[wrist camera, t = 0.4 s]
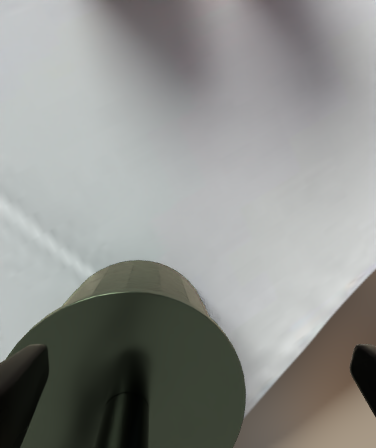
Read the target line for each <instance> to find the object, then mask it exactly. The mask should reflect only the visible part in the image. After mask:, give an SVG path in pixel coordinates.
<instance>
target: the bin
mask: <svg viewBox="0 0 376 448" xmlns="http://www.w3.org/2000/svg"><path fill="white" fill-rule="evenodd" d="M116 289H145V290H152V291H157V292H162V293H166V294H169V295H172V296H175V297H178V298H180V299H182V300H184V301H186V302H189V303H191V304H193V305H194V306H196V307H197V308H199V309H200V310H202V311H203V312H205V313H206V314H207V315H208V312H207V310H206V308H205V306H204V304H203V302H202V300H201V299H200V297H199V295H198V293H197V291H196V289H195V288H194V287H193V286H192V285H191V283H190V282H189V281H188V280H187V279H186V278H185V277H184V276H183V275H181V274H180V273H178V272H177V271H175V270H174V269H172V268H170V267H168V266H165V265H162V264H159V263H156V262H151V261H142V260H135V261H125V262H120V263H117V264H113V265H110V266H108V267H106V268H104V269H101V270H100V271H98V272H96V273H95V274H93V275H92V276H90V277H89V278H88V279H87V280H86V281H85V282H84V283H83V284H82V285H81V286H80V287H79V288H78V289H77V290H76V291H75V292H74V293H73V294H72V295H71V296H70V297H69V299H68V300H67V301H66V302H65V303H64V304H63V305H65V304H68V303H70V302H72V301H74V300H76V299H79V298H82V297H85V296H88V295H91V294H94V293H98V292H103V291H109V290H116ZM208 316H209V315H208Z"/></svg>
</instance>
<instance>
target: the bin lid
mask: <svg viewBox="0 0 376 448" xmlns="http://www.w3.org/2000/svg"><path fill="white" fill-rule="evenodd" d="M32 344H44V345H46V346H47V348H48V358H49V376H48V379H47V382H46V385H45V387H44V390H43V392H42V395H41V397H40V400H39V402H38V405H37V407H36V410H35V412H34V415H33V417H32V420H31V422H30V425H29V427H28V430H27V432H26V435H25V437H24V440H23V442H22V445H21V447H20V448H233V446H234V444H235V442H236V439H237V437H238V435H239V432H240V428H241V425H242V421H243V418H244V411H245V399H246V389H245V381H244V375H243V371H242V367H241V364H240V361H239V358H238V356H237V354H236V352H235V349H234V347H233V346H232V344H231V342H230V341H229V339H228V337H227V336H226V334H225V333H224V332H223V330H222V329H221V328H220V327H219V326H218V324H217V323H216V322H215V321H214V320H212V319H211V318H210V317H209V316H208V315H207V314H206V313H205V312H203V311H202V310H200V309H199V308H197V307H196V306H194V305H193V304H191V303H189V302H186V301H184V300H182V299H180V298H178V297H175V296H172V295H169V294H166V293H162V292H157V291H152V290H145V289H116V290H109V291H103V292H98V293H94V294H91V295H88V296H85V297H82V298H79V299H76V300H74V301H72V302H70V303H68V304H65V305H63V306H62V307H60V308H58V309H57V310H55V311H53V312H52V313H50V314H49V315H47V316H46V317H45V318H43V319H42V320H41V321H40V322H38V323H37V324H36V325H35V326H34V327H33V328H32V329H31V330H30V331H29V332H28V333H27V334H26V335H25V336H24V337H23V338H22V339H21V340H20V341H19V342H18V343H17V345H16V346H15V347H14V349H13V350H12V351H11V353H10V354H9V355H8V357H7V358H9V357H11V356H12V355H14V354H15V353H17V352H19V351H20V350H22V349H23V348H25V347H27V346H28V345H32ZM7 358H6V359H7Z"/></svg>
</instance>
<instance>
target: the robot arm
mask: <svg viewBox="0 0 376 448" xmlns="http://www.w3.org/2000/svg"><path fill="white" fill-rule="evenodd" d="M350 372H351V375H352V377H353V379H354V381H355V382H356V384H357V386H358V388H359V389H360V391H361V393H362V395H363V396H364V398H365V400H366V401H367V403H368V405H369V407H370V408H371V410H372V412H373V413H374V415H375V417H376V347H375V346H373V345H370V344H359V345H356V347H355V348H354V352H353V356H352V360H351V363H350ZM48 376H49V358H48V348H47V346H46V345H44V344H32V345H28V346H27V347H25V348H23V349H22V350H20V351H19V352H17V353H15V354H14V355H12V356H11V357H9V358H7V359H6V360H4V361H3V362H1V363H0V448H20V447H21V445H22V442H23V440H24V437H25V435H26V432H27V430H28V427H29V425H30V422H31V420H32V417H33V415H34V412H35V410H36V407H37V405H38V402H39V400H40V397H41V395H42V392H43V390H44V387H45V385H46V382H47V379H48Z"/></svg>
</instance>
